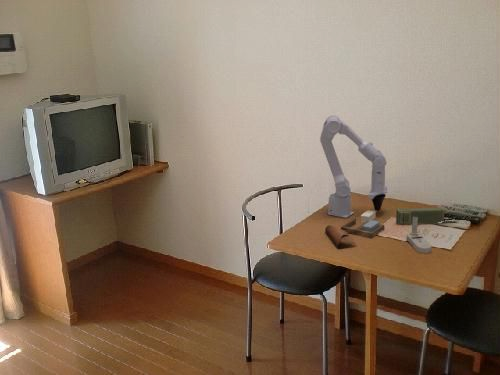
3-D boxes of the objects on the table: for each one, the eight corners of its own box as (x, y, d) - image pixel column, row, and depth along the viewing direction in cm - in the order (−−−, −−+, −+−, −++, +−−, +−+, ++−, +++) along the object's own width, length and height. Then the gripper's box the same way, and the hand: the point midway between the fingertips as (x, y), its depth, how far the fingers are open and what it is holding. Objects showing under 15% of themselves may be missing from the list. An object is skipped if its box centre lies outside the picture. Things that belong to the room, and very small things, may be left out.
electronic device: (420, 230, 196) (405, 215, 210) (419, 255, 199) (404, 238, 213) (435, 229, 196) (419, 214, 211) (433, 254, 199) (417, 237, 214)
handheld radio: (395, 222, 231) (455, 221, 229) (397, 225, 228) (457, 224, 226) (396, 208, 228) (456, 206, 227) (397, 211, 225) (459, 209, 224)
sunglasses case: (359, 247, 207) (351, 233, 205) (344, 257, 207) (335, 244, 205) (344, 230, 224) (336, 218, 222) (330, 239, 224) (322, 227, 222)
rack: (340, 231, 223) (340, 226, 223) (353, 223, 231) (353, 218, 231) (372, 238, 215) (372, 233, 214) (384, 229, 223) (384, 224, 222)
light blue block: (370, 235, 218) (370, 227, 217) (362, 233, 220) (362, 225, 219) (379, 229, 224) (379, 221, 223) (371, 227, 226) (371, 220, 225)
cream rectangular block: (368, 224, 230) (368, 216, 229) (360, 223, 232) (360, 215, 231) (375, 218, 237) (375, 211, 236) (367, 217, 238) (367, 209, 237)
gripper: (379, 186, 229) (378, 216, 233) (393, 177, 239) (392, 206, 243) (364, 183, 233) (363, 213, 237) (378, 175, 244) (378, 204, 248)
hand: (377, 210), depth 240 cm, fingers closed
